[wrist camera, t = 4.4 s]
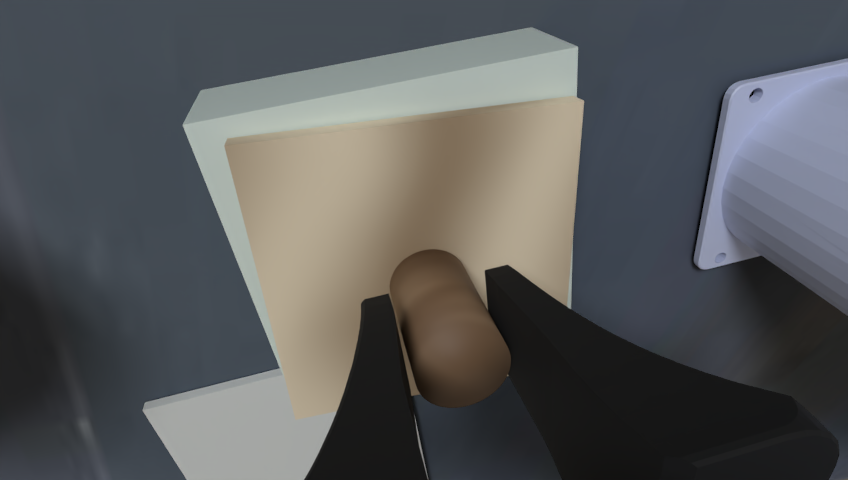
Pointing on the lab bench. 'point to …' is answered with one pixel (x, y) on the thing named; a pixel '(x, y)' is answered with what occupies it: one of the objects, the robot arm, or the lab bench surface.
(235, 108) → the dish
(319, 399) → the lid
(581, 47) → the lab bench surface
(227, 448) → the mat
